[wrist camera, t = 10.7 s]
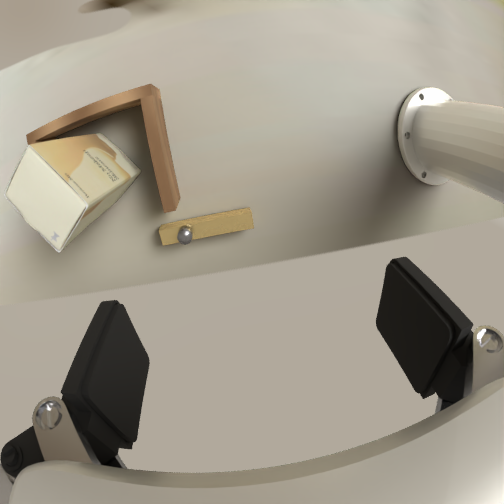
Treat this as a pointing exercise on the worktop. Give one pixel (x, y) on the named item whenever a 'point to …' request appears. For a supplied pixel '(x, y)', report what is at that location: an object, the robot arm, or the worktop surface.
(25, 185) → the skincare box
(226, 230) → the bar
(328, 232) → the worktop surface
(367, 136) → the worktop surface
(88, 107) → the cradle
